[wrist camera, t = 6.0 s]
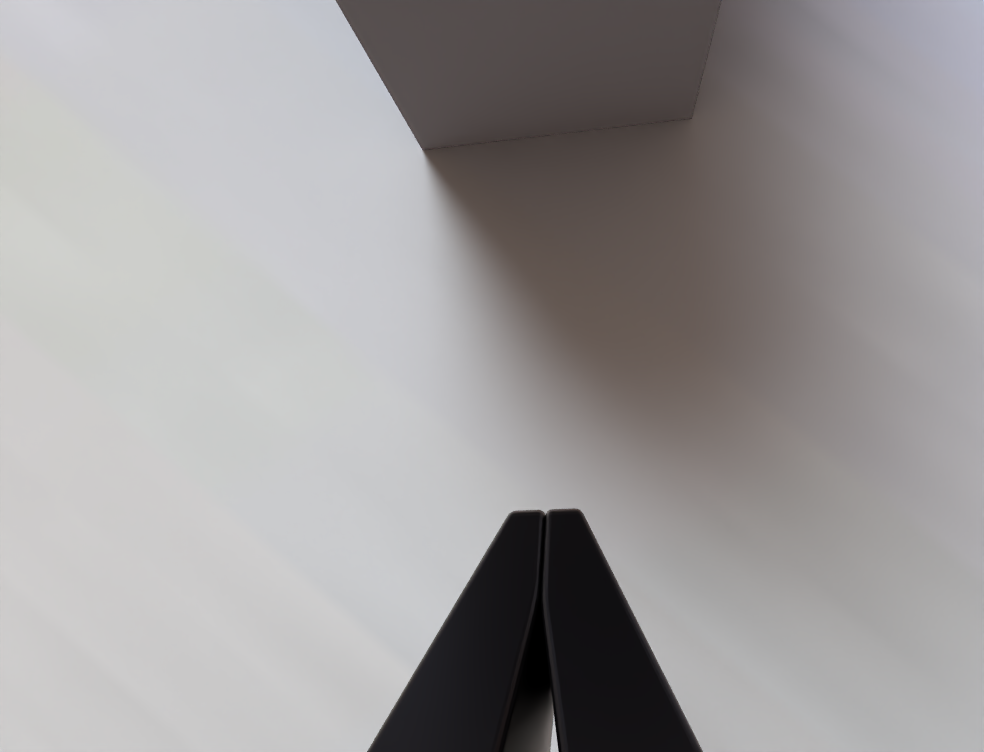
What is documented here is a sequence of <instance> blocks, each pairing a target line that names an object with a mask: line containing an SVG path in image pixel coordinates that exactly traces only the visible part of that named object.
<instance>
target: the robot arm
mask: <svg viewBox="0 0 984 752" xmlns="http://www.w3.org/2000/svg"><path fill="white" fill-rule="evenodd" d="M553 715H554V717H555V725H556V734H557V742H558V750H559V752H703V751H702V749H701V747H700V745H699V743H698V741H697V739H696V737H695V735H694V733H693V731H692V729H691V727H690V725H689V723H688V721H687V719H686V717H685V715H684V713H683V711H682V709H681V707H680V705H679V703H678V701H677V699H676V697H675V695H674V693H673V691H672V689H671V687H670V685H669V683H668V681H667V679H666V677H665V675H664V674H663V672H662V670H661V668H660V666H659V664H658V662H657V660H656V658H655V656H654V654H653V652H652V650H651V648H650V646H649V644H648V642H647V640H646V638H645V636H644V634H643V632H642V630H641V628H640V626H639V624H638V622H637V620H636V618H635V616H634V614H633V612H632V610H631V608H630V606H629V604H628V602H627V600H626V598H625V596H624V594H623V592H622V590H621V588H620V586H619V584H618V582H617V580H616V578H615V576H614V574H613V572H612V570H611V568H610V566H609V564H608V562H607V560H606V558H605V556H604V554H603V552H602V550H601V548H600V546H599V544H598V542H597V540H596V538H595V536H594V534H593V532H592V530H591V528H590V526H589V524H588V522H587V520H586V518H585V516H584V514H583V513H582V512H581V511H580V510H579V509H552V510H549V511H548V512H547V513H546V515H545V513H544V512H543V511H541V510H523V511H513V512H511V513H510V514H509V515H508V516H507V518H506V519H505V521H504V523H503V524H502V526H501V528H500V530H499V531H498V533H497V535H496V536H495V538H494V540H493V541H492V543H491V545H490V546H489V548H488V550H487V551H486V553H485V555H484V556H483V558H482V560H481V561H480V563H479V565H478V566H477V568H476V570H475V571H474V573H473V575H472V577H471V578H470V580H469V582H468V583H467V585H466V587H465V588H464V590H463V592H462V593H461V595H460V597H459V598H458V600H457V602H456V603H455V605H454V607H453V608H452V610H451V612H450V613H449V615H448V617H447V619H446V620H445V622H444V624H443V625H442V627H441V629H440V630H439V632H438V634H437V635H436V637H435V639H434V640H433V642H432V644H431V645H430V647H429V649H428V650H427V652H426V654H425V655H424V657H423V659H422V660H421V662H420V664H419V666H418V667H417V669H416V671H415V672H414V674H413V676H412V677H411V679H410V681H409V682H408V684H407V686H406V687H405V689H404V691H403V692H402V694H401V696H400V697H399V699H398V701H397V702H396V704H395V706H394V708H393V709H392V711H391V713H390V714H389V716H388V718H387V719H386V721H385V723H384V724H383V726H382V728H381V729H380V731H379V733H378V734H377V736H376V738H375V739H374V741H373V743H372V744H371V746H370V748H369V749H368V751H367V752H550V747H551V736H552V726H553Z"/></svg>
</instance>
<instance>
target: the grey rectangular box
mask: <svg viewBox="0 0 984 752" xmlns="http://www.w3.org/2000/svg"><path fill="white" fill-rule="evenodd" d="M336 2H337V3H338V5H339V7H340V9H341V10H342V12H343V14H344V15H345V17H346V19H347V21H348V22H349V24H350V26H351V27H352V29H353V31H354V33H355V34H356V36H357V38H358V40H359V41H360V43H361V45H362V46H363V48H364V50H365V52H366V53H367V55H368V57H369V59H370V60H371V62H372V64H373V65H374V67H375V69H376V71H377V72H378V74H379V76H380V77H381V79H382V81H383V83H384V84H385V86H386V88H387V90H388V91H389V93H390V95H391V96H392V98H393V100H394V102H395V103H396V105H397V107H398V108H399V110H400V112H401V114H402V115H403V117H404V119H405V121H406V122H407V124H408V126H409V127H410V129H411V131H412V133H413V134H414V136H415V138H416V140H417V141H418V143H419V145H420V146H421V148H422V150H426V149H435V148H443V147H452V146H461V145H469V144H478V143H486V142H495V141H503V140H512V139H520V138H529V137H537V136H546V135H554V134H563V133H571V132H580V131H589V130H597V129H606V128H614V127H623V126H631V125H640V124H648V123H657V122H665V121H674V120H682V119H691V118H692V114H693V110H694V107H695V103H696V99H697V95H698V91H699V87H700V83H701V79H702V75H703V71H704V67H705V63H706V59H707V55H708V51H709V47H710V44H711V40H712V36H713V32H714V28H715V24H716V20H717V16H718V12H719V8H720V4H721V0H336Z"/></svg>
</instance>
